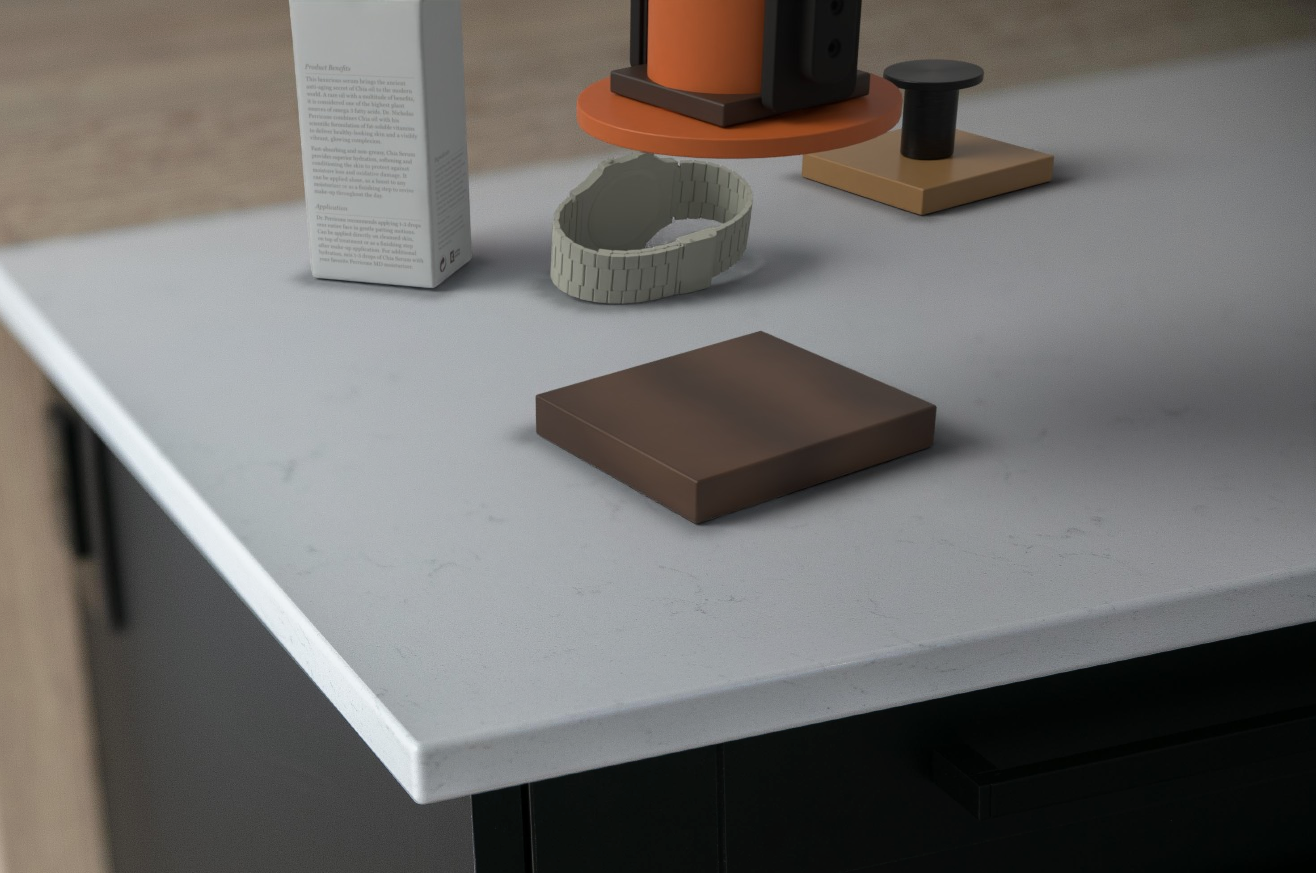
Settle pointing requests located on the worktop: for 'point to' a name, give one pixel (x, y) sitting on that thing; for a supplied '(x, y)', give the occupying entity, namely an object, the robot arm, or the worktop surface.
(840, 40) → the robot arm
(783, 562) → the worktop surface
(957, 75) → the stand
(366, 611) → the worktop surface
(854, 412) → the shelf board
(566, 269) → the wristwatch
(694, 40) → the hat
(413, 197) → the cosmetic box
